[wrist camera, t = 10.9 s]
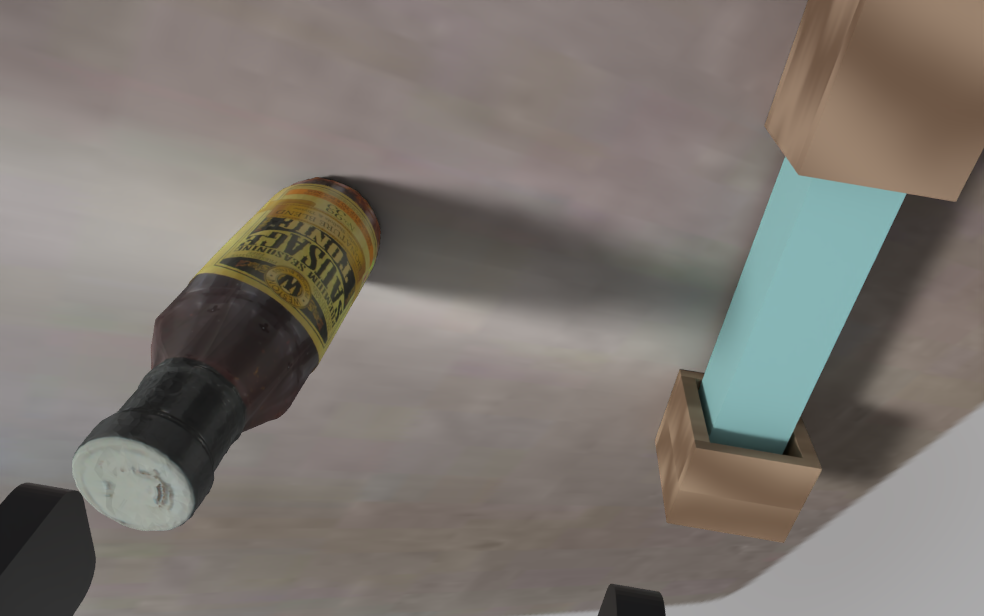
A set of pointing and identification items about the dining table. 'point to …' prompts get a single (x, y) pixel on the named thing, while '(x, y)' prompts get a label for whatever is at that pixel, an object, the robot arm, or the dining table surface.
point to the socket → (729, 473)
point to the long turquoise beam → (791, 306)
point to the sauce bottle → (231, 353)
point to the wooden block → (885, 94)
